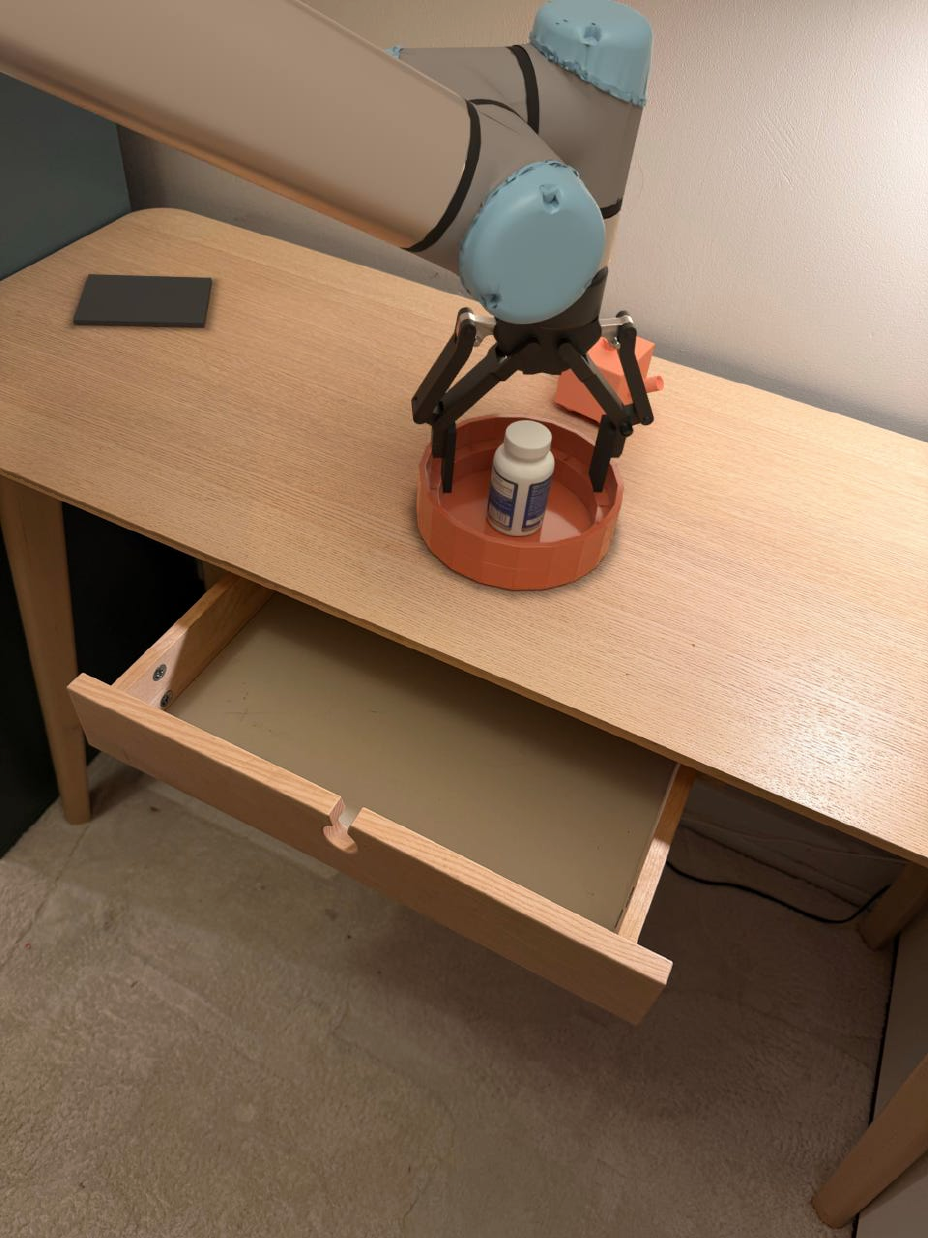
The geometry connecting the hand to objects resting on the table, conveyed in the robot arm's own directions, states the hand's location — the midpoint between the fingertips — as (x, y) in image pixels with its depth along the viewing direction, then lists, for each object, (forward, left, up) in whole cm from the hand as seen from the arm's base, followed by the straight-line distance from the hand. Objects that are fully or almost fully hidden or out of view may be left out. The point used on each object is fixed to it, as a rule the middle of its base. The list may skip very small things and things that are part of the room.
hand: (521, 483), depth 82 cm
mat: (-38, +37, -5) cm, 53 cm away
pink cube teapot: (+12, +18, -5) cm, 22 cm away
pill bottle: (0, 0, -5) cm, 5 cm away
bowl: (0, 0, -5) cm, 5 cm away
